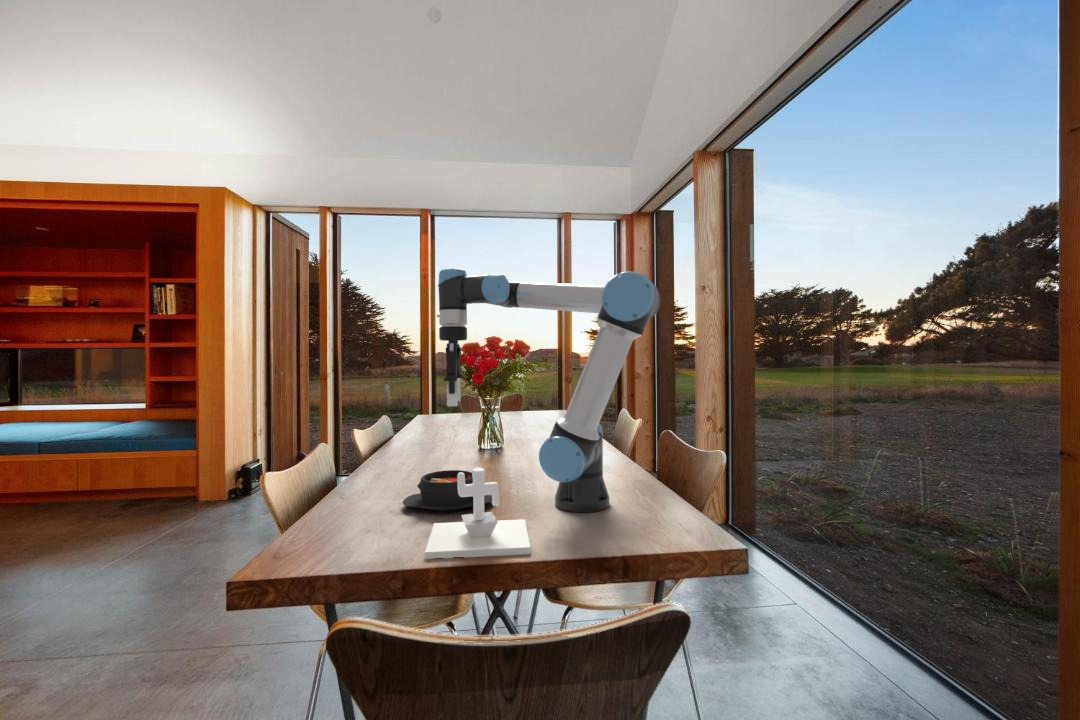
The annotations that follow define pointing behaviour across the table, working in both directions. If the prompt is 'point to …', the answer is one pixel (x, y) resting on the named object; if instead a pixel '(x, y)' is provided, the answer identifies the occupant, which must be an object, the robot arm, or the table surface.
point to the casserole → (442, 492)
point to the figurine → (478, 503)
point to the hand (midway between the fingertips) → (454, 403)
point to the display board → (478, 541)
